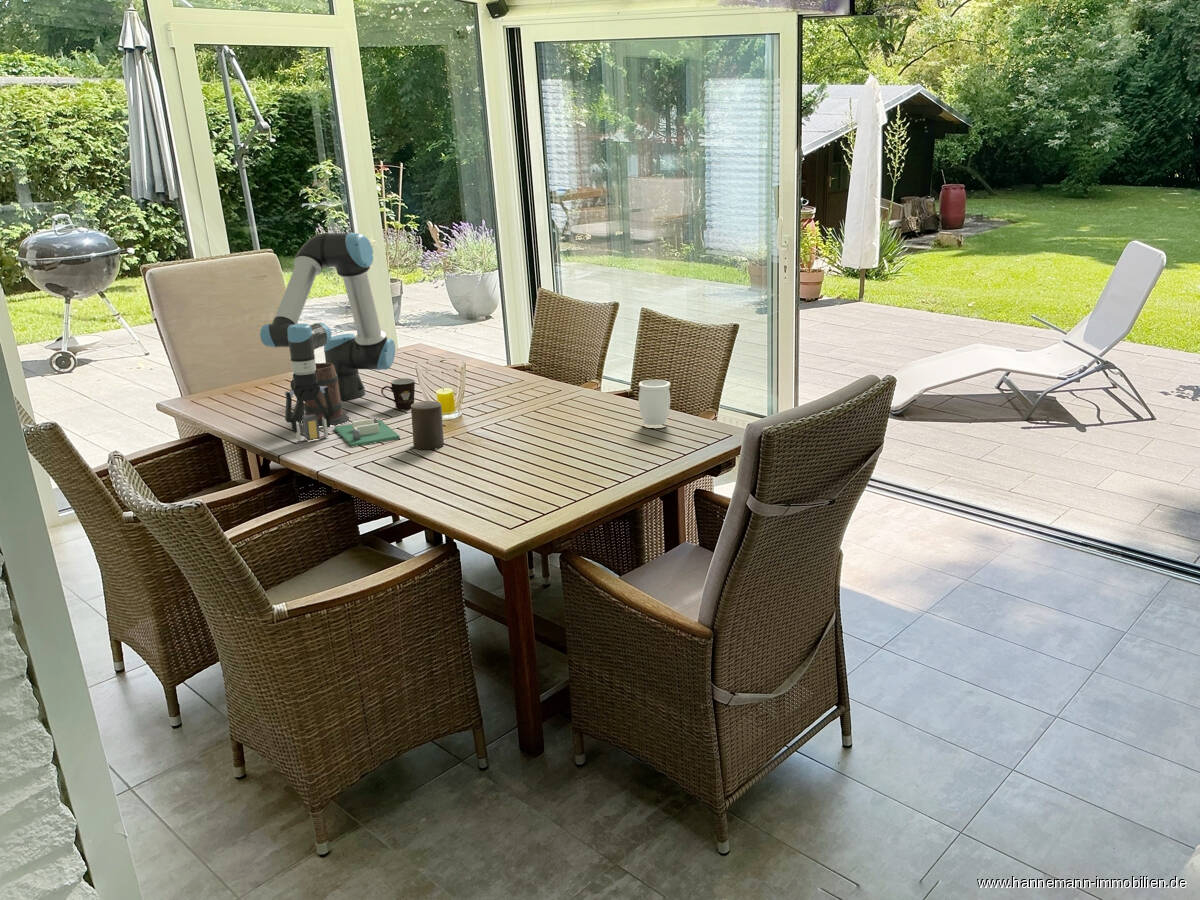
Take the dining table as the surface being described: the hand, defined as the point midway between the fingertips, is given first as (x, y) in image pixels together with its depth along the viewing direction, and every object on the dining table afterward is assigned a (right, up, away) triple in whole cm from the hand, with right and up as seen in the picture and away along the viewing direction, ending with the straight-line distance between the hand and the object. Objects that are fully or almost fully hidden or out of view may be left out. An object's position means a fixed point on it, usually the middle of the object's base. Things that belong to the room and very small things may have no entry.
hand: (312, 439), depth 320 cm
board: (+17, +2, +5) cm, 17 cm away
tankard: (-4, +5, +18) cm, 19 cm away
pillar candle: (+40, -2, -8) cm, 41 cm away
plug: (0, 0, 0) cm, 0 cm away
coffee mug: (+22, +12, +34) cm, 43 cm away
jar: (+114, +4, +6) cm, 114 cm away
